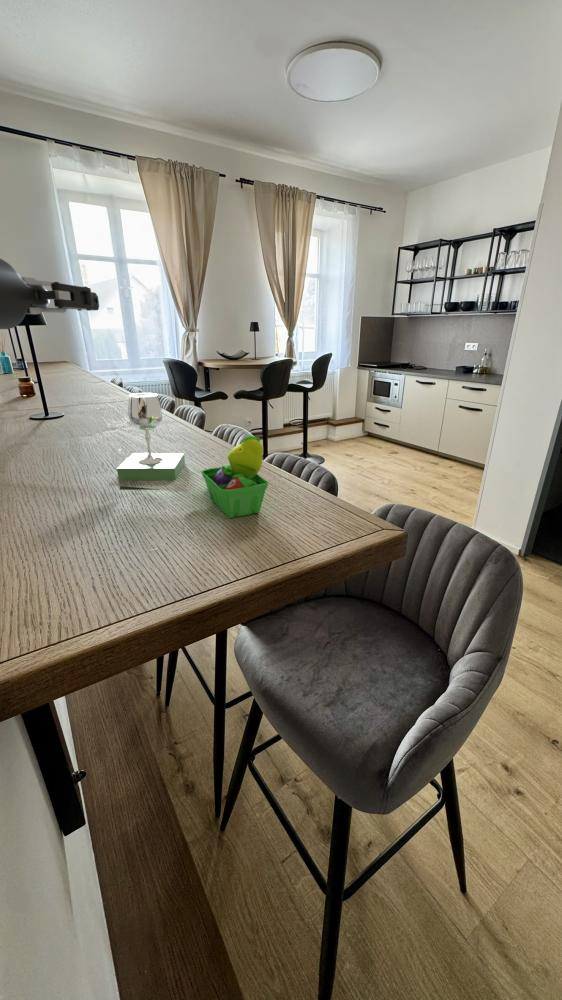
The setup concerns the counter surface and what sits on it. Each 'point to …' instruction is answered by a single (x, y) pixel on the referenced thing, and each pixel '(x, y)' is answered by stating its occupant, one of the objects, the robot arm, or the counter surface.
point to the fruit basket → (238, 480)
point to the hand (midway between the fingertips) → (68, 301)
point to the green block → (151, 468)
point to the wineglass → (145, 418)
